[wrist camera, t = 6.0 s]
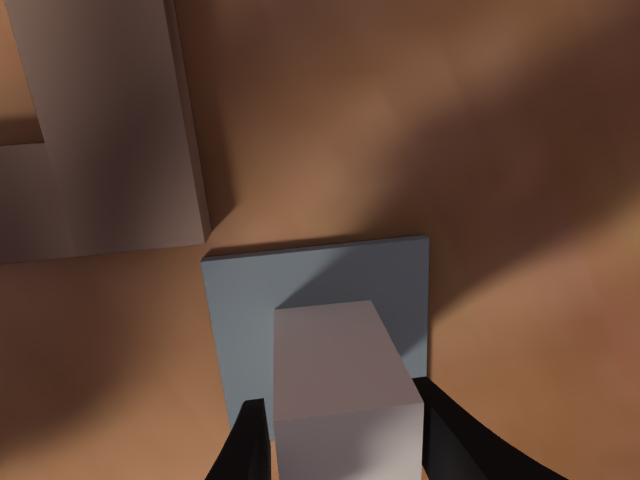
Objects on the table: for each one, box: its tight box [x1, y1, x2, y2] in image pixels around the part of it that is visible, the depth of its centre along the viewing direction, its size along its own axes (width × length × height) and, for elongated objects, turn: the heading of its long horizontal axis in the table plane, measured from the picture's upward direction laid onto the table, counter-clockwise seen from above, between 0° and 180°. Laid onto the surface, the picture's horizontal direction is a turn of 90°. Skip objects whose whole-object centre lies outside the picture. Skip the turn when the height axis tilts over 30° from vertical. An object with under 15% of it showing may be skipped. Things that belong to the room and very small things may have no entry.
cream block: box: [273, 300, 424, 480], centre depth 13 cm, size 4×4×6 cm
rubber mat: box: [201, 235, 430, 441], centre depth 17 cm, size 9×9×1 cm
